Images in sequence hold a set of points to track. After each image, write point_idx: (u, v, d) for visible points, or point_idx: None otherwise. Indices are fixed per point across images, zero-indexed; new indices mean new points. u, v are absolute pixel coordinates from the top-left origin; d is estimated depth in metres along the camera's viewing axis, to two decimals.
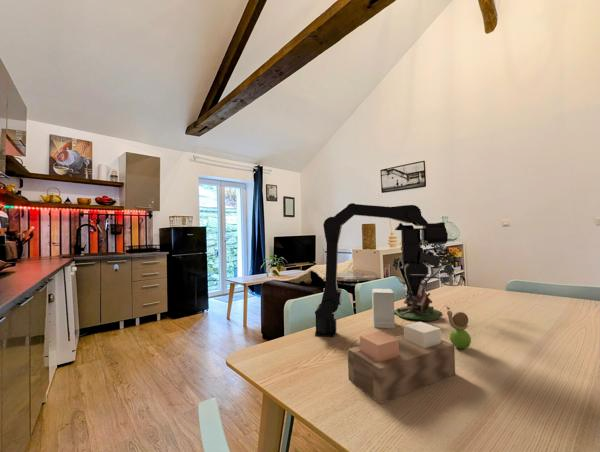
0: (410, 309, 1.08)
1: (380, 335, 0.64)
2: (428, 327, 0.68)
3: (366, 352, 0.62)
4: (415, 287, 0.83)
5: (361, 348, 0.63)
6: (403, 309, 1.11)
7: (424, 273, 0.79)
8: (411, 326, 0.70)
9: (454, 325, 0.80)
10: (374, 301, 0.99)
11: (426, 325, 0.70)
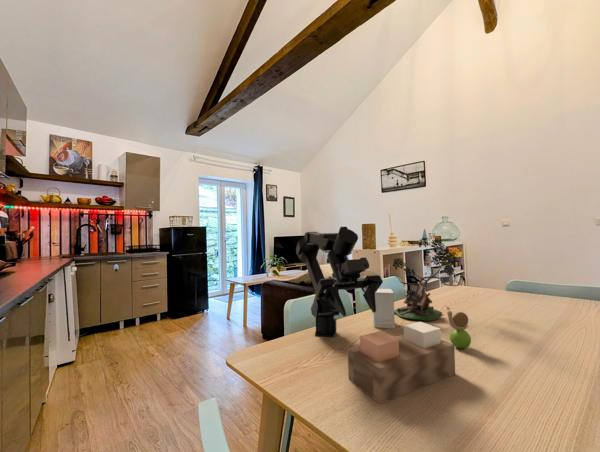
0: (410, 309, 1.08)
1: (380, 335, 0.64)
2: (428, 327, 0.68)
3: (366, 352, 0.62)
4: (337, 305, 0.72)
5: (361, 348, 0.63)
6: (403, 309, 1.11)
7: (320, 287, 0.72)
8: (411, 326, 0.70)
9: (454, 325, 0.80)
10: None
11: (426, 325, 0.70)
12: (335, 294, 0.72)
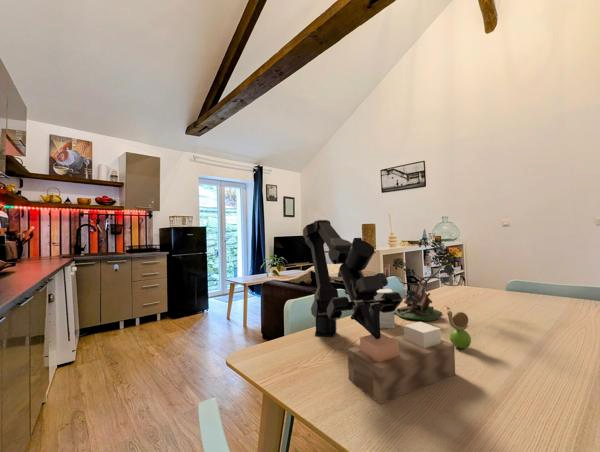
0: (410, 309, 1.08)
1: (380, 337, 0.64)
2: (428, 327, 0.68)
3: (367, 354, 0.62)
4: (369, 327, 0.64)
5: (361, 350, 0.63)
6: (403, 309, 1.11)
7: (333, 307, 0.64)
8: (411, 326, 0.70)
9: (454, 325, 0.80)
10: None
11: (426, 325, 0.70)
12: (366, 314, 0.65)
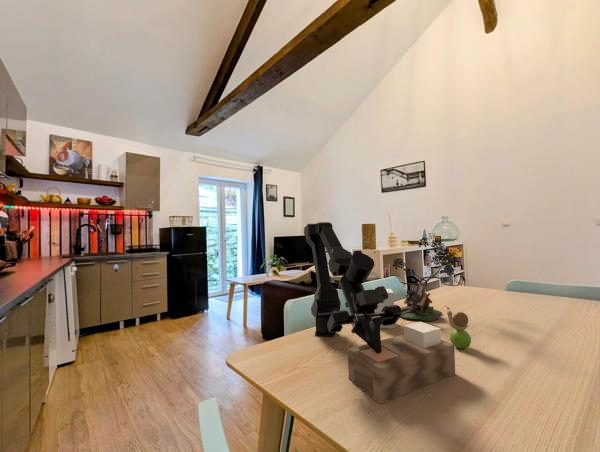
0: (410, 309, 1.08)
1: None
2: (428, 327, 0.68)
3: None
4: (369, 341, 0.64)
5: None
6: (403, 309, 1.11)
7: (333, 321, 0.64)
8: (411, 326, 0.70)
9: (454, 325, 0.80)
10: None
11: (426, 325, 0.70)
12: (366, 328, 0.64)
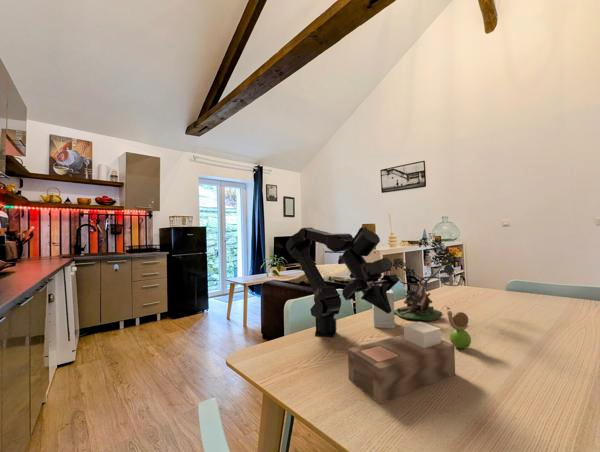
0: (410, 309, 1.08)
1: (380, 350, 0.64)
2: (428, 327, 0.68)
3: None
4: (380, 304, 0.74)
5: None
6: (403, 309, 1.11)
7: (353, 289, 0.71)
8: (411, 326, 0.70)
9: (454, 325, 0.80)
10: None
11: (426, 325, 0.70)
12: (377, 293, 0.74)
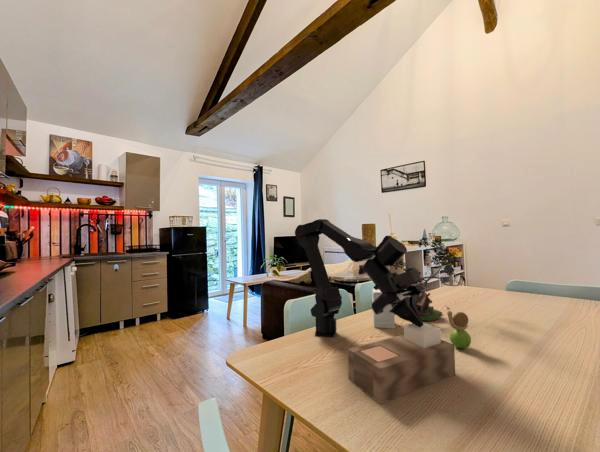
0: None
1: (380, 350, 0.64)
2: (428, 327, 0.68)
3: None
4: (411, 317, 0.70)
5: None
6: None
7: (386, 302, 0.66)
8: (411, 326, 0.70)
9: (454, 325, 0.80)
10: None
11: (426, 325, 0.70)
12: (408, 305, 0.70)
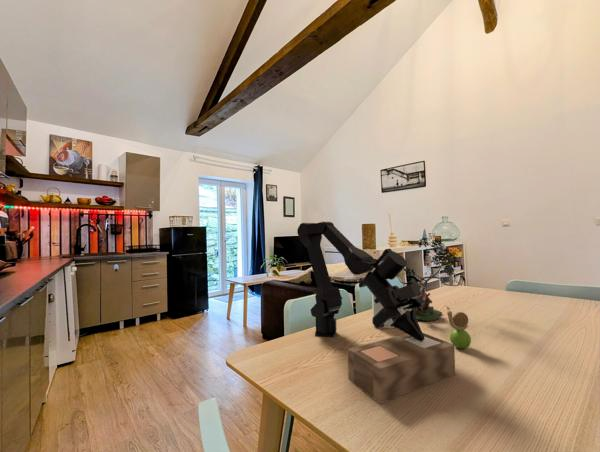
0: None
1: (380, 350, 0.64)
2: (428, 341, 0.68)
3: None
4: (412, 331, 0.69)
5: None
6: None
7: (387, 317, 0.66)
8: (411, 339, 0.70)
9: (454, 325, 0.80)
10: (374, 301, 0.99)
11: (426, 339, 0.70)
12: (409, 319, 0.70)
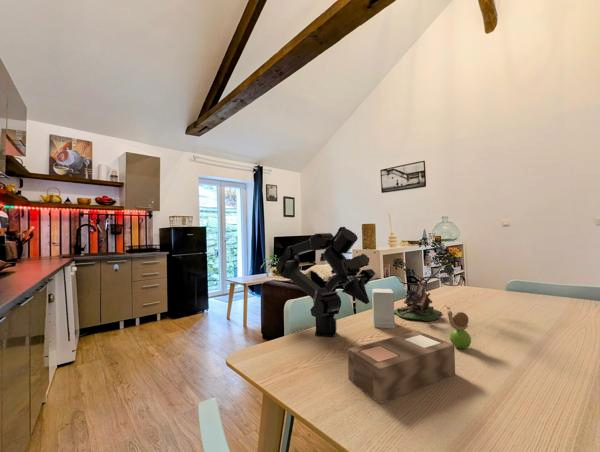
0: (410, 309, 1.08)
1: (380, 350, 0.64)
2: (428, 341, 0.68)
3: None
4: (359, 295, 0.81)
5: None
6: (403, 309, 1.11)
7: (335, 282, 0.78)
8: (411, 339, 0.70)
9: (454, 325, 0.80)
10: (374, 301, 0.99)
11: (426, 339, 0.70)
12: (356, 286, 0.82)
